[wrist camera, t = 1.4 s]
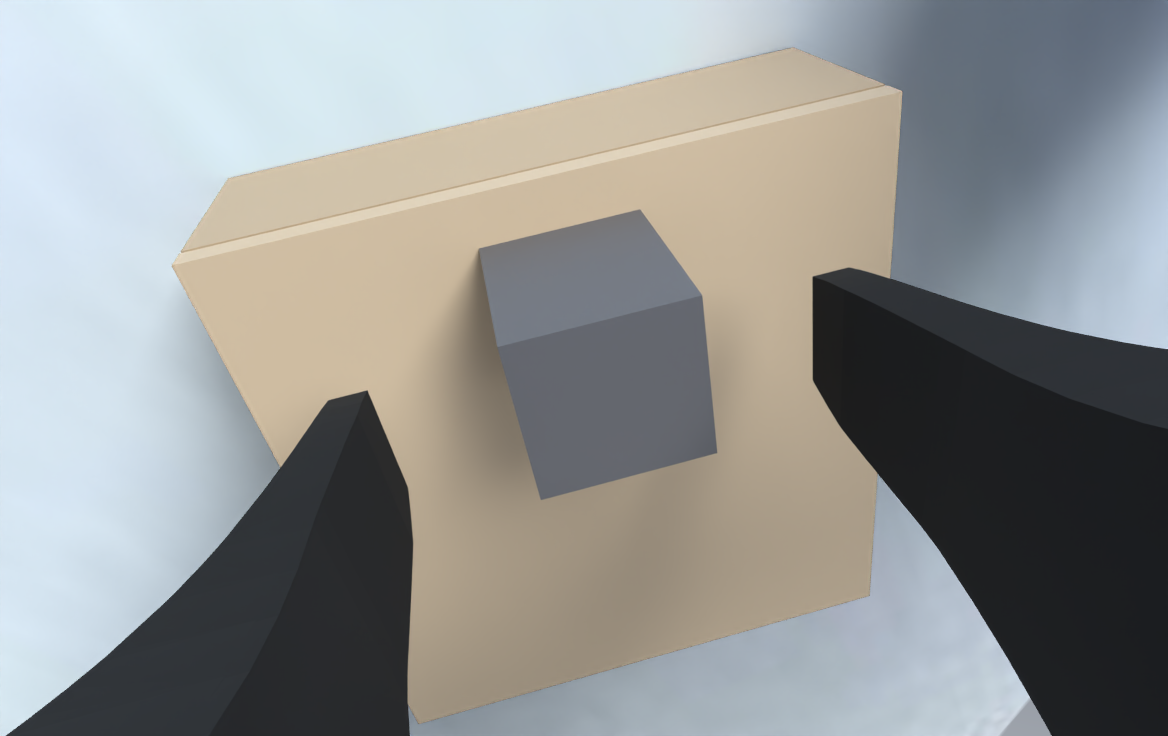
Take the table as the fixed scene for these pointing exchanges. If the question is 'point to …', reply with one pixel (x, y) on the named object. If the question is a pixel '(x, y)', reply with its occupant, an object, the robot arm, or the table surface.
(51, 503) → the table surface
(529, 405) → the sliding lid
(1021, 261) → the table surface
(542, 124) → the carton
